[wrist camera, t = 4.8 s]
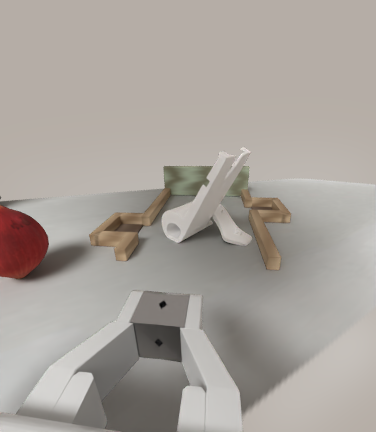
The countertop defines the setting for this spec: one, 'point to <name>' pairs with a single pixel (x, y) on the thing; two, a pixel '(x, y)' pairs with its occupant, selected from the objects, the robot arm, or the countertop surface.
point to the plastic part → (209, 205)
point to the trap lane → (190, 185)
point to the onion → (20, 243)
